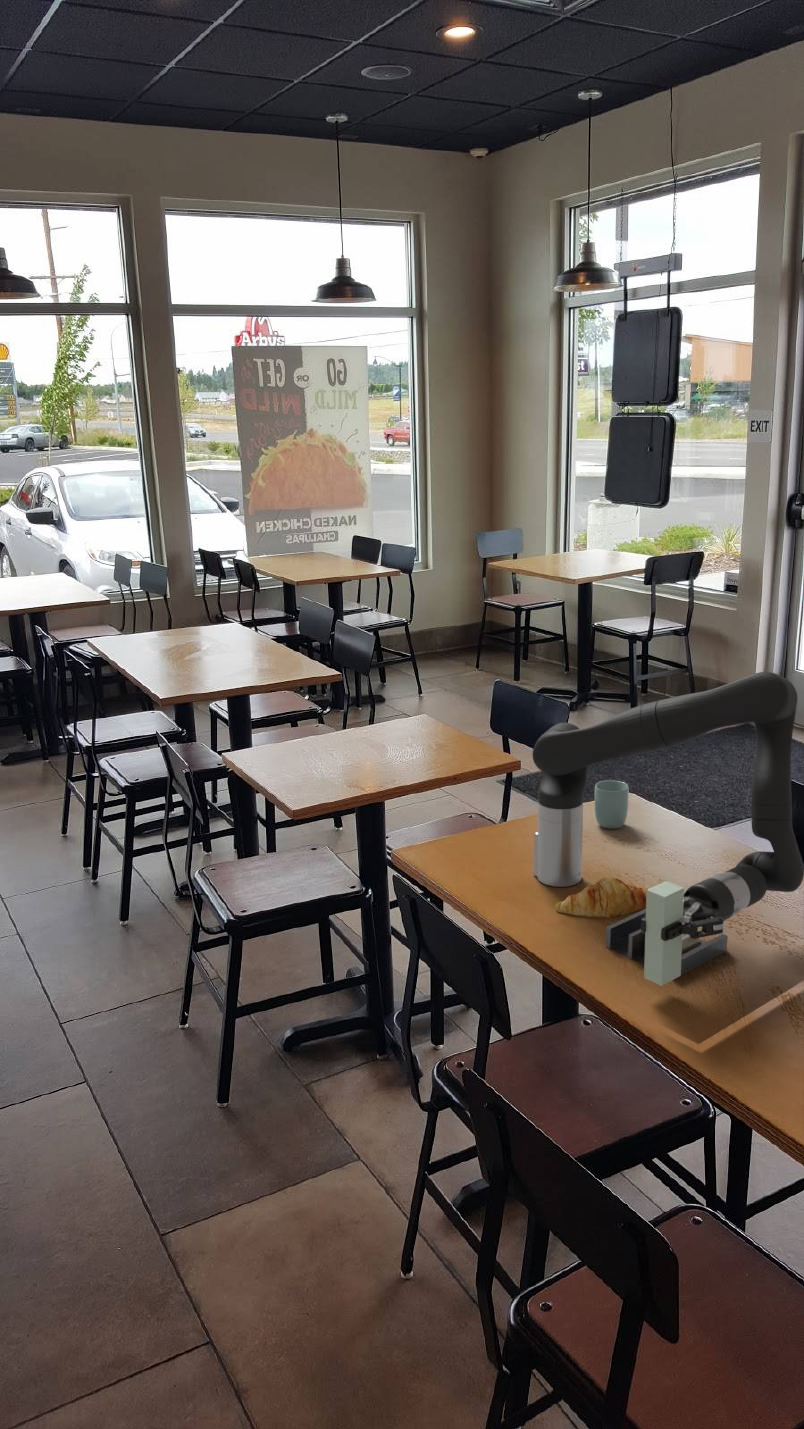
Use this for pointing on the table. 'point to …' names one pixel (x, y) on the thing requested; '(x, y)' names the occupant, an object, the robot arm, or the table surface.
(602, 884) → the croissant
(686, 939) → the offcut upper
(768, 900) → the table surface
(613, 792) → the cup
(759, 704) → the robot arm
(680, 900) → the tall mint green block
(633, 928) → the rack
